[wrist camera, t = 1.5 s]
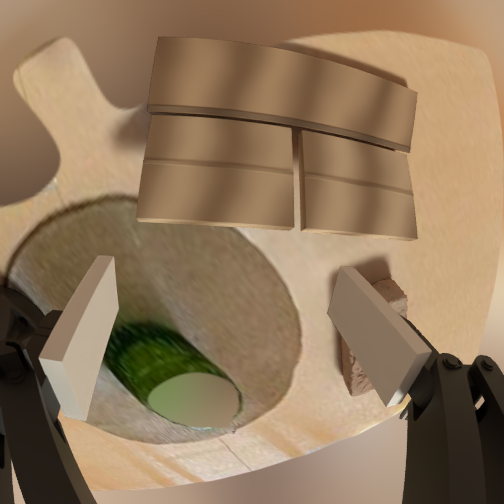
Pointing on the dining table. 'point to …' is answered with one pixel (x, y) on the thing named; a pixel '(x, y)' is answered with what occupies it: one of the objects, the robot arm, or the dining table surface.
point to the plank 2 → (354, 189)
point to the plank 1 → (217, 173)
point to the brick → (351, 368)
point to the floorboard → (279, 90)
